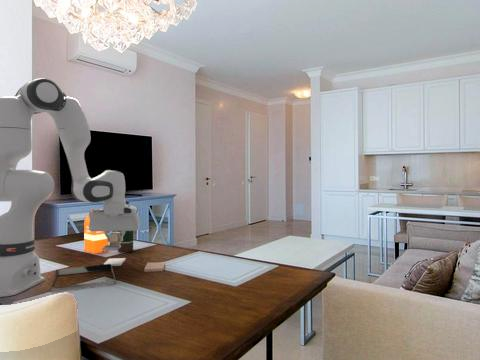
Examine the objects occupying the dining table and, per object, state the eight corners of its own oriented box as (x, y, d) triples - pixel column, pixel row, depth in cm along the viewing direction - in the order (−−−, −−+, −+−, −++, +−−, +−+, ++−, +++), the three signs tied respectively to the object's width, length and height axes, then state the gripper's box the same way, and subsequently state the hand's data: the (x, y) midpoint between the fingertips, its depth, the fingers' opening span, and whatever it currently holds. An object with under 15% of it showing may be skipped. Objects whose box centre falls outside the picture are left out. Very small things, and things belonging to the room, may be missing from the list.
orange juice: (93, 253, 160) (93, 211, 159) (84, 251, 165) (83, 209, 165) (109, 250, 166) (108, 209, 166) (99, 248, 171) (98, 208, 171)
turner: (117, 250, 135) (117, 237, 135) (101, 250, 134) (101, 238, 134) (124, 243, 147) (123, 231, 147) (109, 243, 146) (109, 232, 146)
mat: (120, 265, 139) (120, 264, 139) (102, 266, 138) (102, 264, 138) (125, 259, 149) (125, 258, 149) (109, 259, 148) (108, 258, 148)
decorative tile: (115, 288, 116) (114, 270, 134) (115, 279, 115) (114, 262, 134) (48, 296, 108) (56, 276, 127) (47, 287, 108) (56, 268, 127)
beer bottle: (136, 249, 169) (136, 200, 168) (129, 252, 161) (129, 202, 161) (121, 248, 170) (121, 200, 169) (114, 252, 162) (113, 202, 161)
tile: (164, 266, 140) (163, 272, 131) (147, 266, 139) (144, 273, 130) (164, 262, 140) (163, 268, 131) (147, 262, 139) (144, 268, 130)
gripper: (86, 210, 139) (86, 243, 139) (138, 209, 141) (138, 242, 142) (91, 208, 145) (91, 240, 145) (140, 207, 147) (140, 239, 148)
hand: (115, 241), depth 144 cm, fingers closed on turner, 3 cm apart
